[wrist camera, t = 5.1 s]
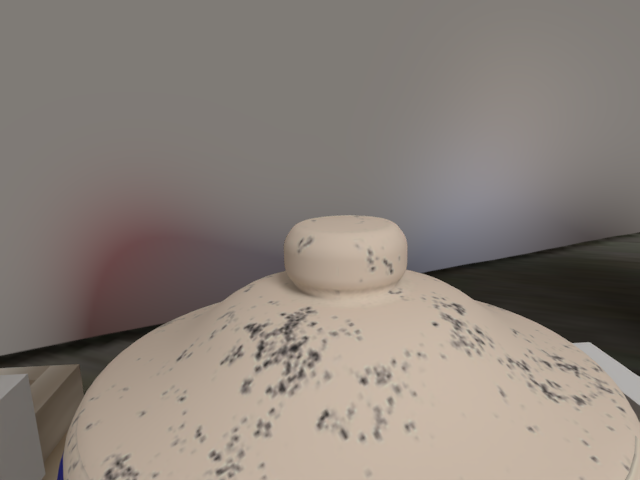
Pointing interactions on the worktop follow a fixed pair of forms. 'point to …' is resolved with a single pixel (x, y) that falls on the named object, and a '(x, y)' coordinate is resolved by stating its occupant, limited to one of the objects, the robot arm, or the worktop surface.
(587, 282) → the worktop surface
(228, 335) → the teacup with lid
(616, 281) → the worktop surface
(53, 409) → the cradle board
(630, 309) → the worktop surface
